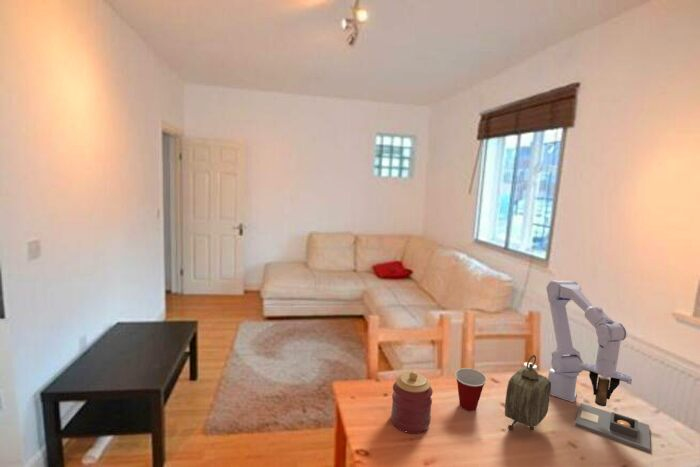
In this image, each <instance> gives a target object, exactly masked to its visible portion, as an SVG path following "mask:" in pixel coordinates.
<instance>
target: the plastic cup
mask: <svg viewBox="0 0 700 467" xmlns="http://www.w3.org/2000/svg"><path fill="white" fill-rule="evenodd" d="M454 376H455V379H456V384H457V391H458V400H459V401H458V402H459V406H460V408H461V407H462V408H461V409H463V410H465V411H467V410H468V412H472V411H473V412H474V411H476V409H477V407H478V404H479V401H480V399H481V396H482V391H483V388H484V386H485V384H486V383H487V376H486V375H485V374H484V373H483V372H481V371H479V370H477V369H474V368H469V367H463V368H458V369H457V370H456V371H455V373H454Z"/></svg>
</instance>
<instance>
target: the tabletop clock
mask: <svg viewBox="0 0 700 467" xmlns="http://www.w3.org/2000/svg"><path fill="white" fill-rule="evenodd" d="M532 359H534V361H533V362H532V363H533V364H530V365H529V363H531V360H532ZM536 362H537V356H536V355H535V354H532V355H530V356H529V358H528V360H527V368H525V369H523V368H524V367H523V368H520V369H519V370H518V371H516V372H515V373H514V374H513V375H512V376H511V377H510V378H509V380H508V383H507V387H506V392H505V393H506V394H505V403H504V416H505V417H506V418H508V419H511V420H513V422H512V423H511V424H508V426H507V429H508V430H509V431H513V430H514V426H515V425H516V424H517V423H520V424H521V425H523V426H525V427H527V428H528V429H529V431H535V427H537V426H538V425H539V424H541V422H542V421H543V420H544V419H545V418H546V416H547V414H548V410H549V405H550V399H551V395H550V391H551V382H550V381H549V379H548V377H547V376H545V375H542V374H540V373H538V371H537V370H534V369H533V366H534V365H536ZM528 365H529V367H528Z"/></svg>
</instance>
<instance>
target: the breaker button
mask: <svg viewBox="0 0 700 467" xmlns="http://www.w3.org/2000/svg"><path fill="white" fill-rule="evenodd" d="M617 423H618V424H621V425H624V426H627V427H630V426H631V425H630V424H629V423H628V422H626V421H623V420H618V421H617Z"/></svg>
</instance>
